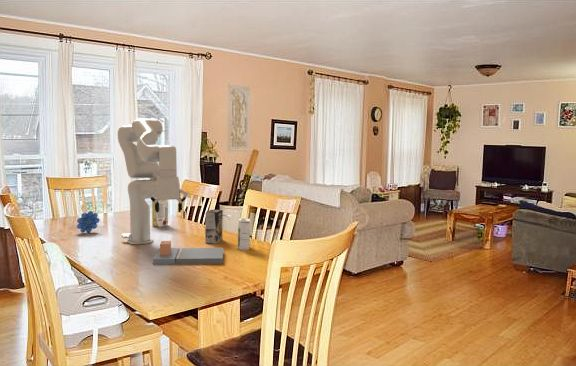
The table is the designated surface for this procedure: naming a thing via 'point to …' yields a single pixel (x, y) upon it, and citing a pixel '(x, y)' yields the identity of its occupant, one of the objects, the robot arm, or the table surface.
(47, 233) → the table surface
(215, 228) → the coffee box
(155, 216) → the juice carton
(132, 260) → the table surface
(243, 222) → the syrup box
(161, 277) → the table surface
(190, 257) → the board
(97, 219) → the grapes
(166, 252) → the stub
